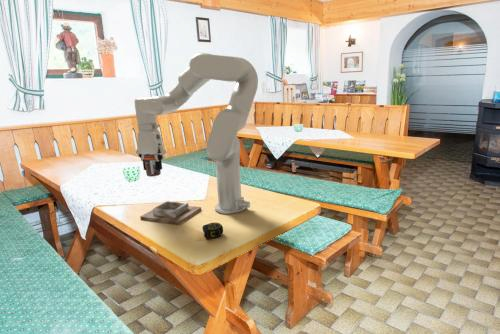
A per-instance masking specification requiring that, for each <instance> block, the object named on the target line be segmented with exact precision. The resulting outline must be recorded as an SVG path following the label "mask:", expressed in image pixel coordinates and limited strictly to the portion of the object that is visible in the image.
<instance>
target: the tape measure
mask: <svg viewBox="0 0 500 334" xmlns="http://www.w3.org/2000/svg"><path fill="white" fill-rule="evenodd" d="M202 232H203V234H204V235H203V238H205V239H206V240H209V239H215V238H216V239H217V238H218V237H221V236H222V235H223V234H224V228H223V225H222V224H221V223H219V222H210V223H207V224H205V225H202Z"/></svg>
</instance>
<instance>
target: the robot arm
mask: <svg viewBox="0 0 500 334" xmlns="http://www.w3.org/2000/svg"><path fill="white" fill-rule="evenodd" d="M210 80H212V81H213V80H216V81H222V82H230V83H231V82H235V86H234V88H233V90H232V93H231V95H230V99H229V102H228V104H227V106H226V108H224V109H221V110H220V111H219V112H218V113H217V115H216V116H215V118H214V120H213V124H212V127H211V130H210V134H209V135H208V136H209V137H208V139H207V142H206V147H205V148H206V153H207V156H208V157H209V158H210V160H212V161H214V162H215V173H216V185H217V187H216V189H217V200H218V201H217V202H218V203H217V204H216V205H215V206H214V210H215V212H216V213H219V214H224V215H225V214H226V215H228V214H230V215H231V214H238V213H241V212H243V211H245V209H246V208H247V209H248V208H250V207H251V202H250V201H249V200H245V198H244V196H242V185H241V184H242V183H241V181H242V180H241V164H240V163H241V161H240V160H241V159H240V157H241V143H240V139H239V137H238V136H237V135H238V132H240V131H242V130H243V129H244V128H245V126H246V124H247V120H248V117H249V115H250V112H251V109H252V106H253V102H254V99H255V97H256V93H257V92H258V91H257V90H258V86H259V78H258V72H257V71H256V69H255V67H254V65H253V64H252V63H251V62H250V61H248V60H247V59H245V58H244V57H238V56H229V55H219V54H212V53H206V52H205V53H204V52H198V53H196V54H194V55H193V56H192V57H191V58H190V61H189V65H188V67H187V68H186V69H185V70H183V72H181V73H180V74H179V75H178V77H177V81H178V83H177V85H176V86H175V87H174V88H172V90H171V91H170V92H168V93H167V94H165V95H164V94H163V95H157V96H151V97H150V96H146V97H144V96H143V97H137V98H135V99H134V109H135V116H136V123H137V130H138V131H137V149H136V151H135V153H136V154H137V156H138V157H139V158H140V160H141V161H142V165H143V171H146V167H145V160H144V156H145V155H146V154H150V155H154V157H155V159H156V162H155V164H156V170H157V171H159V170H160V171H162V170H163V164H162V163H163V162H162V161H163V158H164V157H165V156H166V154H167V150H165V149H164V144H163V139H162V135H161V132H160V130H159V129H158V128H159V125H158V124H157V120H156V119H157V118H156V117H157V116H163V115H168V114H171V113H174V112H175V111H177V110H178V109H180V108H181V107H182V106H183V105H185V104H186V103H187V102H188V101H189V100H190V99H191V97H192V96H193V95H194V93H195V92H197V91H198V90H199V89H200V88H202V87H203V86H204V85H206V83H208V82H209V81H210ZM157 155H158V156H157Z"/></svg>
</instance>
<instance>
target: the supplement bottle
mask: <svg viewBox="0 0 500 334" xmlns="http://www.w3.org/2000/svg"><path fill="white" fill-rule="evenodd" d="M157 156H158V155H157ZM144 160H145V167H146V170H145V173H146V176H147V177H151V178H152V177H157V176H160V175H161V173H162V172H161V171H162V170H159V171H157V170H156V164H155V162H156V159H155V157H154V155H150V154H146V155H145V156H144Z"/></svg>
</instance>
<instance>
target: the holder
mask: <svg viewBox="0 0 500 334" xmlns="http://www.w3.org/2000/svg"><path fill="white" fill-rule="evenodd" d="M200 211H202V207H201V206H196V205H195V206H193V205H189V202H183V201H182V202H181V201H174V200H167V201H164V202H163V203H161V204H159V205H157V206H156V207H154V208H153V209H151V210H150V211H148V212H146V213H145V214H142V215H140V216H139V217H140V220H142V221H143V220H144V221H148V222H149V221H150V222H154V223H155V222H156V223H163V224H170V225H176V226H179V225H181V224H183V223H184V222H186V221H187V220H188V219H190V218H191V217H193V216H195V215H196V214H198V213H199V212H200Z"/></svg>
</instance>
